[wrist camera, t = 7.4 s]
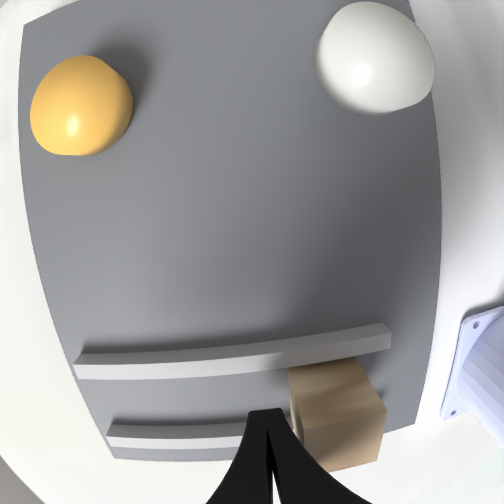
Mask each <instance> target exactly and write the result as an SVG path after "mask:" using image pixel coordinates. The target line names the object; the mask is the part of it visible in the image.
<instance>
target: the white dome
mask: <svg viewBox="0 0 504 504" xmlns="http://www.w3.org/2000/svg"><path fill="white" fill-rule="evenodd" d="M313 66H314V70H315V74H316V76H317V79H318V81H319V83H320V85H321V86H322V88H323V89H324V91H325V92H326V93H327V94H328V96H329V97H330V98H331V99H332V100H334V101H335V102H336V103H337V104H338V105H340V106H341V107H343V108H345V109H346V110H348V111H351V112H353V113H356V114H359V115H363V116H381V115H385V114H388V113H391V112H394V111H397V110H400V109H403V108H406V107H409V106H412V105H414V104H416V103H418V102H420V101H421V100H422V99H424V98H425V97H426V96H427V94H428V93H429V91H430V90H431V88H432V85H433V83H434V78H435V62H434V57H433V53H432V50H431V48H430V45H429V43H428V41H427V40H426V38H425V36H424V35H423V33H422V32H421V31H420V29H419V28H418V27H417V26H416V25H415V24H414V23H413V22H412V21H411V20H410V19H409V18H407V17H406V16H405V15H403V14H402V13H401V12H399V11H397V10H395V9H393V8H391V7H389V6H386V5H383V4H380V3H375V2H356V3H352V4H349V5H347V6H345V7H343V8H342V9H340V10H339V11H338V12H337V13H336V14H335V15H334V17H333V18H332V20H331V21H330V23H329V24H328V26H327V27H326V29H325V30H324V32H323V33H322V35H321V36H320V38H319V39H318V41H317V43H316V45H315V48H314V53H313Z"/></svg>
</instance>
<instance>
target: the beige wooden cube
mask: <svg viewBox="0 0 504 504" xmlns="http://www.w3.org/2000/svg"><path fill="white" fill-rule="evenodd" d="M288 381H289V396H290V411H291V418H292V423H293V427H294V432H295V435H296V436H297V438H298V439H299V441H300V442H301V444H302V445H303V446H304V447H305V449H306V450H307V451H308V452H309V454H310V455H311V456H312V457H313V458H314V459H315V460H316V462H317V463H318V464H319V465H320V466H321V467H322V468H323V469H324V470H325V471H327V472H333V471H337V470H342V469H346V468H350V467H354V466H358V465H362V464H366V463H370V462H373V461H377V458H378V453H379V449H380V445H381V440H382V436H383V431H384V426H385V421H386V416H387V409H386V407H385V406H384V404H383V402H382V401H381V399H380V397H379V396H378V394H377V392H376V391H375V389H374V387H373V386H372V384H371V382H370V381H369V379H368V377H367V376H366V374H365V372H364V371H363V369H362V367H361V366H360V364H359V362H358V361H357V359H356V358H355V356H352V357H347V358H342V359H337V360H331V361H326V362H320V363H314V364H308V365H301V366H295V367H288Z"/></svg>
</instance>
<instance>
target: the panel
mask: <svg viewBox="0 0 504 504" xmlns="http://www.w3.org/2000/svg"><path fill="white" fill-rule="evenodd" d="M356 2H375V3H380V4H383V5H386V6H389V7H391V8H393V9H395V10H397V11H399V12H401V13H402V14H403V15H405V16H406V17H407V18H409V19H410V20H411V21H412V22H413V23H414V24H415V20H414V17H413V14H412V10H411V7H410V4H409V1H408V0H79V1H77V2H74V3H71V4H69V5H67V6H64V7H62V8H59V9H57V10H55V11H52V12H50V13H48V14H46V15H44V16H41V17H39V18H37V19H35V20H33V21H31V22H29V23H27V24H25V25H24V28H23V36H22V44H21V55H20V67H19V87H18V130H19V150H20V163H21V174H22V183H23V191H24V199H25V205H26V212H27V218H28V224H29V229H30V235H31V240H32V245H33V249H34V254H35V258H36V263H37V267H38V271H39V275H40V279H41V283H42V286H43V290H44V293H45V297H46V300H47V304H48V307H49V310H50V314H51V317H52V320H53V323H54V326H55V329H56V332H57V335H58V337H59V340H60V343H61V346H62V348H63V351H64V354H65V356H66V359H67V362H68V364H69V367H70V369H71V371H72V374H73V376H74V379H75V381H76V383H77V386H78V388H79V390H80V392H81V395H82V397H83V399H84V401H85V403H86V405H87V407H88V409H89V412H90V414H91V416H92V418H93V420H94V422H95V424H96V426H97V427H98V429H99V431H100V433H101V435H102V437H103V439H104V441H105V442H106V444H107V446H108V448H109V450H110V451H111V453H112V455H113V457H114V458H117V459H129V460H144V461H174V462H191V461H222V460H234V457H235V455H236V453H237V451H238V448H239V446H240V443H241V440H242V437H243V434H244V431H245V427H246V423H247V417H248V413H249V412H250V411H255V410H264V409H272V408H281V409H282V410H283V413H284V415H285V418H286V420H287V422H288V424H289V425H290V427H291V429H292V430H293V432H294V427H293V423H292V418H291V411H290V396H289V381H288V367H295V366H301V365H308V364H314V363H320V362H326V361H331V360H337V359H342V358H347V357H352V356H355V358H356V359H357V361H358V362H359V364H360V366H361V367H362V369H363V371H364V372H365V374H366V376H367V377H368V379H369V381H370V382H371V384H372V386H373V387H374V389H375V391H376V392H377V394H378V396H379V397H380V399H381V401H382V402H383V404H384V406H385V407H386V409H387V416H386V421H385V426H384V431H383V433H387V432H390V431H393V430H397V429H400V428H403V427H406V426H409V425H412V424H415V420H416V416H417V412H418V408H419V404H420V400H421V396H422V391H423V387H424V382H425V378H426V373H427V368H428V362H429V357H430V351H431V345H432V338H433V332H434V324H435V317H436V308H437V299H438V288H439V275H440V259H441V181H440V164H439V152H438V141H437V132H436V124H435V116H434V109H433V102H432V96H431V90H430V91H429V93H428V94H427V96H426V97H425V98H424V99H422V100H421V101H420V102H418V103H416V104H414V105H412V106H409V107H406V108H403V109H400V110H397V111H394V112H391V113H388V114H385V115H381V116H363V115H359V114H356V113H353V112H351V111H348V110H346V109H345V108H343V107H341V106H340V105H338V104H337V103H336V102H335V101H334V100H332V99H331V98H330V97H329V96H328V94H327V93H326V92H325V91H324V89H323V88H322V86H321V85H320V83H319V81H318V79H317V76H316V74H315V70H314V66H313V53H314V48H315V45H316V43H317V41H318V39H319V38H320V36H321V35H322V33H323V32H324V30H325V29H326V27H327V26H328V24H329V23H330V21H331V20H332V18H333V17H334V15H335V14H336V13H337V12H338V11H339V10H340V9H342V8H343V7H345V6H347V5H349V4H352V3H356ZM415 25H416V24H415ZM80 55H88V56H93V57H96V58H98V59H100V60H102V61H103V62H104V63H106V64H107V65H108V66H110V67H111V68H112V69H113V70H115V71H116V72H117V73H118V74H120V75H121V76H122V77H123V78H124V79H125V80H126V81H127V83H128V85H129V87H130V89H131V92H132V97H133V110H132V115H131V119H130V122H129V124H128V126H127V128H126V130H125V132H124V133H123V135H122V136H121V137H120V139H119V140H118V141H117V142H116V143H115V144H114V145H112V146H111V147H110V148H109V149H107V150H105V151H103V152H101V153H99V154H96V155H91V156H76V155H60V154H55V153H51V152H49V151H47V150H46V149H44V148H43V147H42V146H41V145H40V144H39V143H38V142H37V140H36V138H35V136H34V134H33V132H32V128H31V123H30V110H31V104H32V100H33V97H34V94H35V92H36V90H37V87H38V86H39V84H40V82H41V81H42V79H43V78H44V77H45V76H46V74H47V73H48V72H49V71H50V70H51V69H52V68H53V67H55V66H56V65H57V64H59V63H60V62H62V61H64V60H66V59H68V58H71V57H74V56H80ZM294 433H295V432H294Z"/></svg>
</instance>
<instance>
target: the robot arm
mask: <svg viewBox="0 0 504 504" xmlns="http://www.w3.org/2000/svg"><path fill="white" fill-rule="evenodd" d="M474 323H475V324H474ZM468 410H470V411H471V412H472V413H473V414H474V415H475V417H476V418H477V419H478V420H479V421H480V423H481V424H482V425H483V426H484V427H485V428H486V430H487V431H488V432H489V433H490V434H491V436H492V437H493V438H494V439H495V440H496V442H497V443H498V444H499V445H500V447H501V448H502V449H503V450H504V305H503V306H500V307H497V308H494V309H491V310H488V311H485V312H482V313H479V314H476V315H472V316H469V317H467V318H465V319H464V321H463V322H462V325H461V329H460V335H459V340H458V345H457V350H456V355H455V360H454V364H453V368H452V373H451V377H450V381H449V385H448V388H447V392H446V396H445V399H444V403H443V406H442V409H441V413H440V417H441V418H442V420H446V419H449V418H451V417H454V416H456V415H459V414H461V413H463V412H465V411H468ZM272 470H273V471H272ZM273 474H274V478H275V482H276V486H277V490H278V494H279V498H280V502H281V504H372V503H370V502H368V501H366V500H365V499H363V498H361V497H360V496H358V495H356V494H355V493H353V492H352V491H350V490H349V489H348V488H346V487H345V486H344V485H342V484H341V483H340V482H338V481H337V480H336V479H334V478H333V477H332V476H331V475H330V474H329V473H328V472H327V471H325V470H324V469H323V468H322V467H321V466H320V465H319V464H318V463H317V462H316V460H315V459H314V458H313V457H312V456H311V455H310V454H309V452H308V451H307V450H306V449H305V447H304V446H303V445H302V444H301V442H300V441H299V439H298V438H297V436H296V435H295V433H294V432H293V430H292V429H291V427H290V425H289V424H288V422H287V420H286V418H285V415H284V413H283V410H282V409H281V408H272V409H264V410H255V411H250V412H249V413H248V417H247V423H246V427H245V431H244V434H243V437H242V440H241V443H240V446H239V448H238V451H237V453H236V455H235V457H234V460H233V462H232V464H231V466H230V468H229V470H228V472H227V473H226V475H225V477H224V479H223V480H222V482H221V483H220V485H219V486H218V488H217V489H216V491H215V492H214V494H213V495H212V496H211V498H210V499H209V500H208V501H207V503H206V504H273Z"/></svg>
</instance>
